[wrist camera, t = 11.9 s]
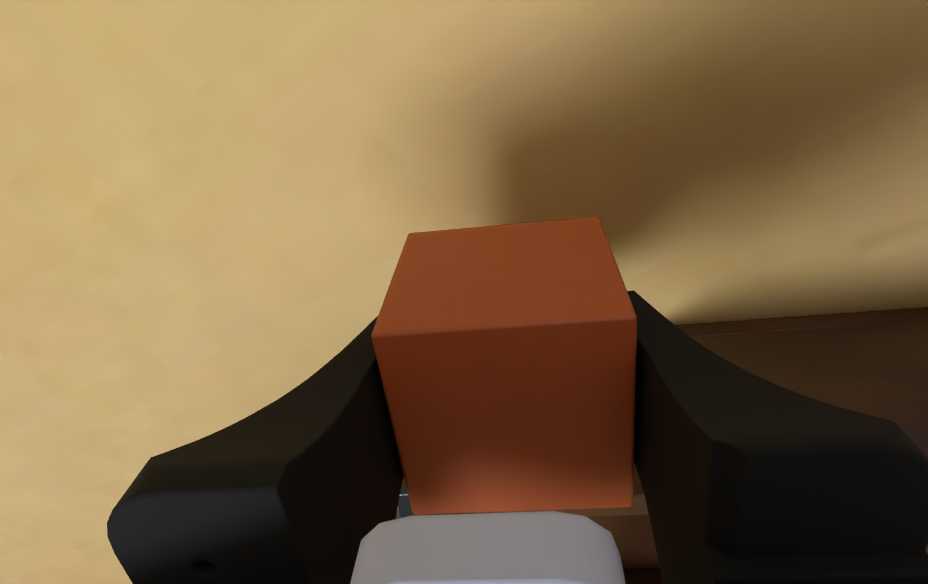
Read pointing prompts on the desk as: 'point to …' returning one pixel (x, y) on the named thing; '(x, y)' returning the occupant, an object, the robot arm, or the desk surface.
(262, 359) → the desk surface
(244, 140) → the desk surface
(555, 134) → the desk surface
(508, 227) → the block
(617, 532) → the drawer
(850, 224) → the desk surface
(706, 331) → the cabinet
